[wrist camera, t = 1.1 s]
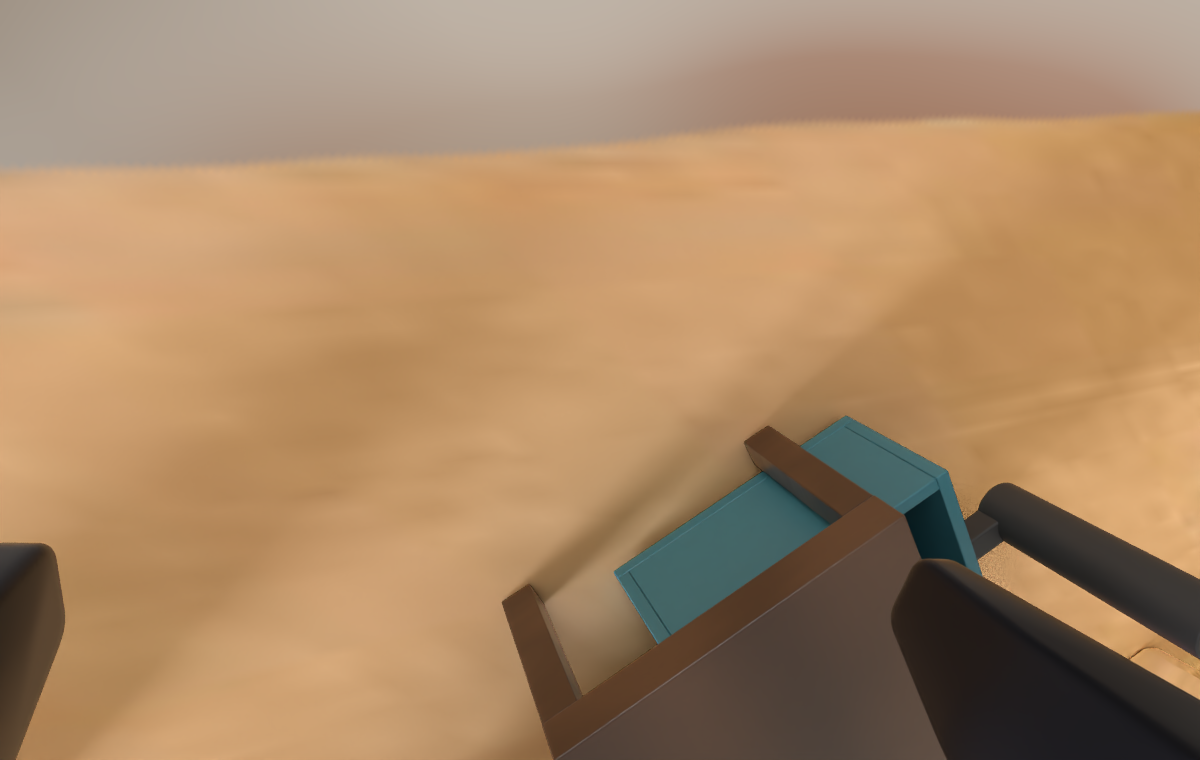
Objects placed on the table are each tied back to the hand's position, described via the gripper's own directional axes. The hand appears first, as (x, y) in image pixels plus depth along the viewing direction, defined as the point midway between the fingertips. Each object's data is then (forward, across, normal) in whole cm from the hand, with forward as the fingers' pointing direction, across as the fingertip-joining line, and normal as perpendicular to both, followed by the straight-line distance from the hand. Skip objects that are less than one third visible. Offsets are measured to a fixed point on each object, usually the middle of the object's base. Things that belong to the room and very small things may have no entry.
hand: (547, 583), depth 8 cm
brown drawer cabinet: (+14, -11, +15) cm, 24 cm away
